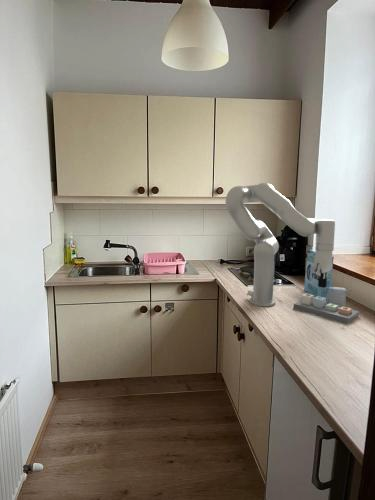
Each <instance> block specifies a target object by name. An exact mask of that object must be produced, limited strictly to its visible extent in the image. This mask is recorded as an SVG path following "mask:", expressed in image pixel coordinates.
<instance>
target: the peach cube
mask: <svg viewBox="0 0 375 500" xmlns="http://www.w3.org/2000/svg"><path fill="white" fill-rule="evenodd" d="M352 310H353V309H352V308H351V307H346V306H345V307H343V306H342V307H341V308H339V313H341V314H345V315H350V314H351V313H352Z"/></svg>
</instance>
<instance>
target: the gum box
mask: <svg viewBox="0 0 375 500" xmlns="http://www.w3.org/2000/svg"><path fill="white" fill-rule="evenodd" d="M315 251H316V250H315V249H307V253H306V263H305V266H306V267H305V276H304V285H303V286H304V287H303V290H304V291H305V292H307V294H311V295H314V298H315V297H317V296H319V297H324V298H326V302H327V291H328V287H332V278H333V277H332V276H333V267H334V259H335V258H334V256H333V259H332V269H331V270H330V271H329V273H328V277H327V278H326V279H327V286H326V287H325V288H323V287H319V286H318V279H319V278H318V276H317V275H316V274H317V272H314V271H313V263H314V256H315Z"/></svg>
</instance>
